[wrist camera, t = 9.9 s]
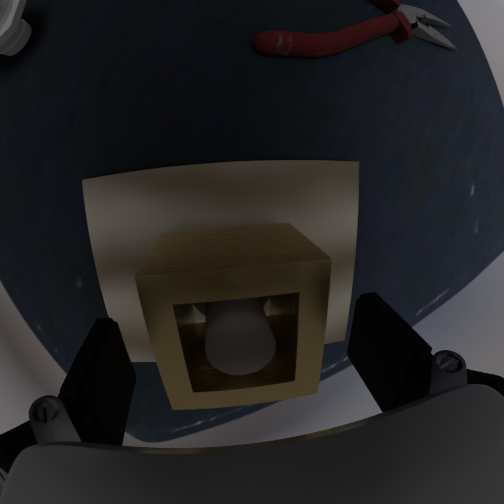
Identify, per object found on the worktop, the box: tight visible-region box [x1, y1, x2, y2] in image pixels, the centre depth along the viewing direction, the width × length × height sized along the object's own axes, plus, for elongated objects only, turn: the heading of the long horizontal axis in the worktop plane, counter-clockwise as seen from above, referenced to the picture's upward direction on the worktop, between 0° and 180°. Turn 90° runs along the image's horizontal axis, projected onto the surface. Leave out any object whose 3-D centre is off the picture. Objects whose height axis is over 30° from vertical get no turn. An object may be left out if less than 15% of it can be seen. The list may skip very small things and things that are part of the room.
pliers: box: [254, 0, 458, 58], centre depth 13 cm, size 12×20×3 cm, turn 96°
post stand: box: [82, 160, 359, 375], centre depth 15 cm, size 14×18×9 cm
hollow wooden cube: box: [134, 222, 331, 410], centre depth 13 cm, size 7×7×6 cm
